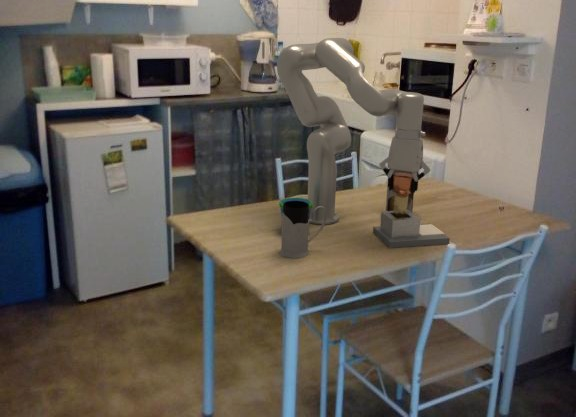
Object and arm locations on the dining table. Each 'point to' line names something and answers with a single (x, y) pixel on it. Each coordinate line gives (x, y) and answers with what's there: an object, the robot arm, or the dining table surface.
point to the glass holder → (296, 229)
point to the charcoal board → (410, 239)
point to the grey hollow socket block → (400, 225)
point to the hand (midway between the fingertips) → (402, 190)
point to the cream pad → (429, 231)
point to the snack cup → (295, 200)
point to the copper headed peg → (401, 193)
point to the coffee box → (391, 197)
